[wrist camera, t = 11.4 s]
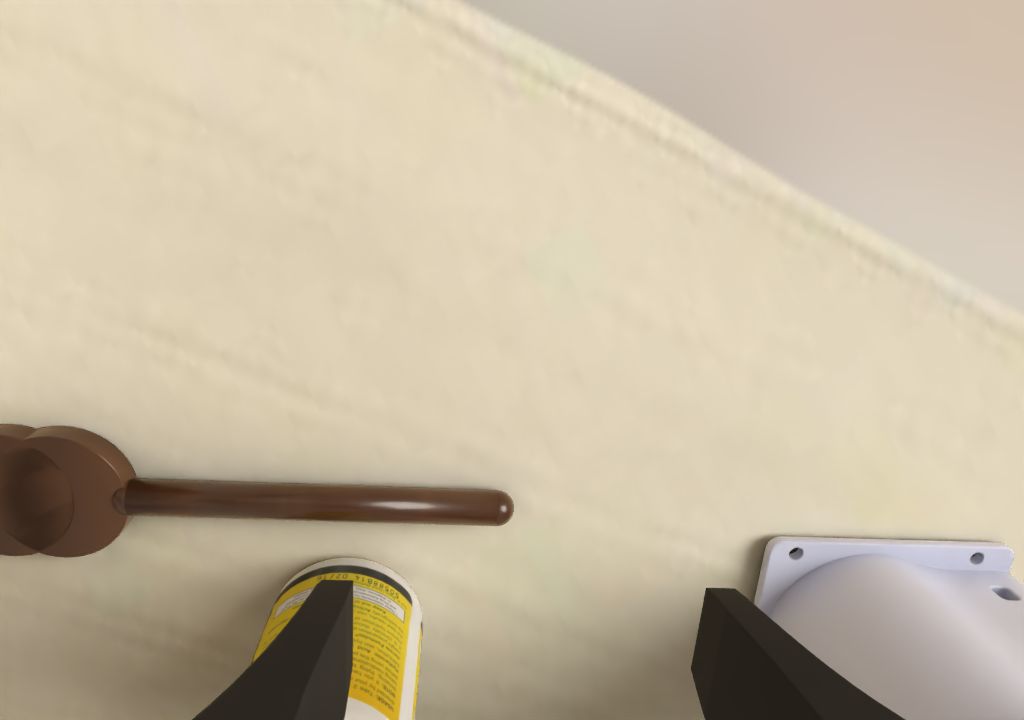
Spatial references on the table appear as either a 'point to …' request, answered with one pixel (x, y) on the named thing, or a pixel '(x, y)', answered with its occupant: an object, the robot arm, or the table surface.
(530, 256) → the table surface
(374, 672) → the supplement bottle
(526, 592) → the table surface
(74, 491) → the walnut spoon
